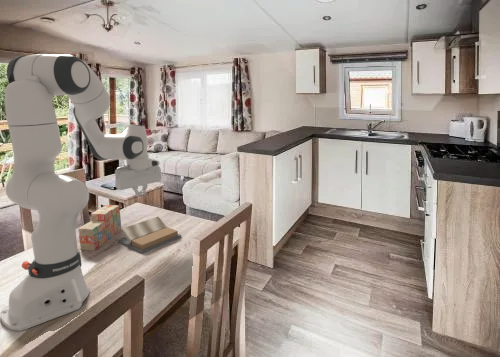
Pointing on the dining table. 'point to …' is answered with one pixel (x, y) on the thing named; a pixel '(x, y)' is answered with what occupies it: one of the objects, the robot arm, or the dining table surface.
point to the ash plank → (143, 228)
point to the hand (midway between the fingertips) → (140, 195)
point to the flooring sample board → (126, 242)
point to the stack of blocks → (100, 227)
